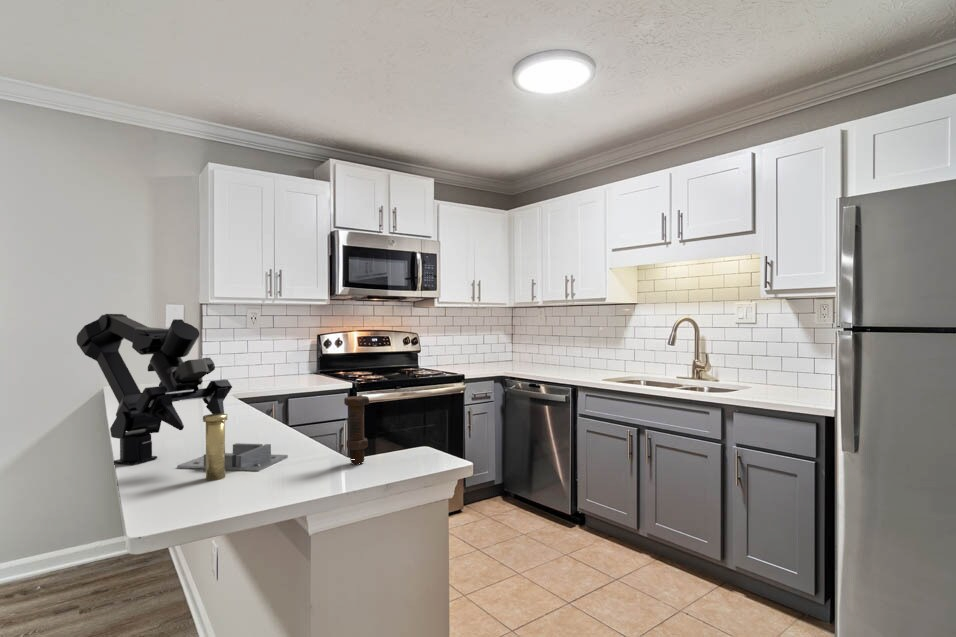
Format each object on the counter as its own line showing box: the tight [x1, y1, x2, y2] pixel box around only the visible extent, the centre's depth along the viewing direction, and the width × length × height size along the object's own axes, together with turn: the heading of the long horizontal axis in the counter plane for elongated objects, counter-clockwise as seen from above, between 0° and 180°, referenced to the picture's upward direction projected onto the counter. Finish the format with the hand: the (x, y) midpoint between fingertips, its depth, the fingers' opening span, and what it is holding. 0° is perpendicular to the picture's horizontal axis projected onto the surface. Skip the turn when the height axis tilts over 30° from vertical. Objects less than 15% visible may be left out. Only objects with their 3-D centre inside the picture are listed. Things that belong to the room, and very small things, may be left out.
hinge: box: [176, 442, 289, 472], centre depth 122 cm, size 20×12×3 cm, turn 80°
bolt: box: [343, 395, 370, 465], centre depth 120 cm, size 6×5×15 cm
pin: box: [202, 413, 228, 481], centre depth 110 cm, size 5×5×13 cm
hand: (203, 425), depth 112 cm, fingers open, 9 cm apart
